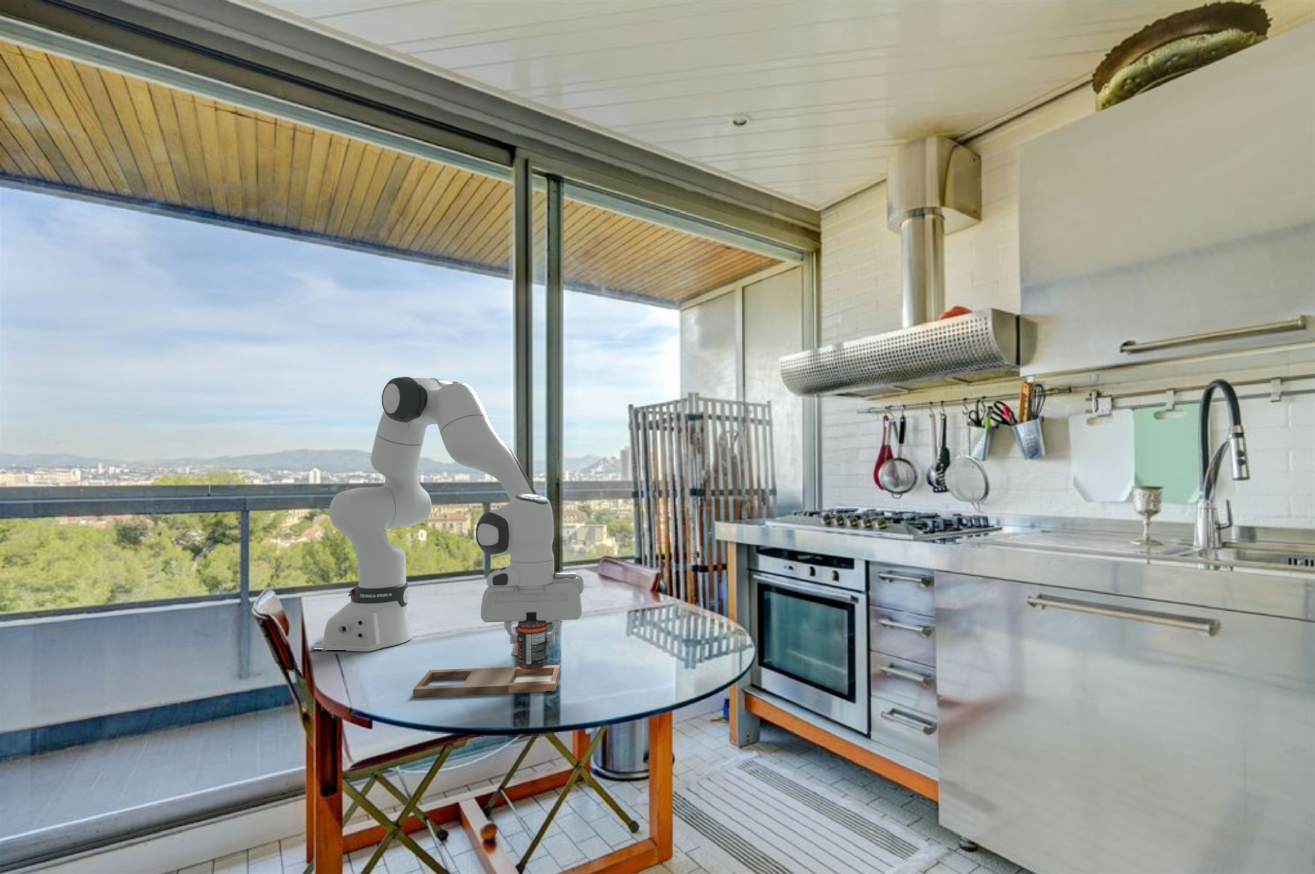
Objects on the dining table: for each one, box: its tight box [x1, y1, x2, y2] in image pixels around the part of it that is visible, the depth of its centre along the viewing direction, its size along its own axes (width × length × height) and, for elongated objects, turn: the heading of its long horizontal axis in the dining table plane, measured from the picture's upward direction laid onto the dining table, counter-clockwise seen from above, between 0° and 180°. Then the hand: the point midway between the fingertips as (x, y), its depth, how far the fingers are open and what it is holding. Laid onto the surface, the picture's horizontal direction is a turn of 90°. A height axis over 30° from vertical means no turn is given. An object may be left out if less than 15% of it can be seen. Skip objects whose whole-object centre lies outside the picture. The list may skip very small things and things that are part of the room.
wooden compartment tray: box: [412, 664, 561, 698], centre depth 124 cm, size 27×11×2 cm, turn 94°
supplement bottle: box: [517, 612, 548, 670], centre depth 125 cm, size 6×6×11 cm
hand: (532, 642), depth 125 cm, fingers closed on supplement bottle, 6 cm apart
